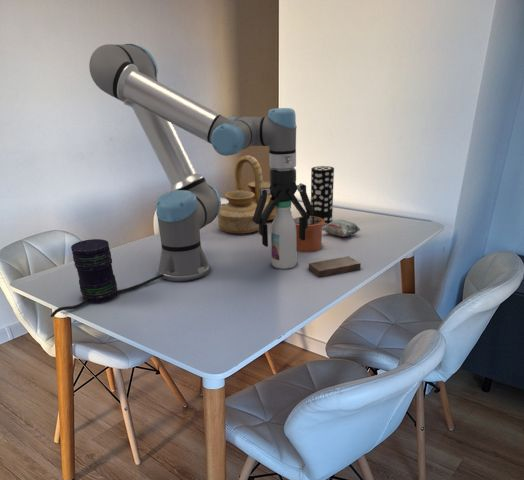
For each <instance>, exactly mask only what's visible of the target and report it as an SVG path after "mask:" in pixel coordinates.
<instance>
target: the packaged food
mask: <svg viewBox="0 0 524 480" xmlns="http://www.w3.org/2000/svg"><path fill="white" fill-rule="evenodd" d="M322 231H324V232H325V233H326V234H330V235H333V236H337V237H341V238H342V237H343V238H344V237H349V236H352V235H355V234H357V233H358V232H360V231H361V228H360V227H359V226H358V225H357V224H356V223H355V222H351V221H347V220H344V219H335V220H332V222H331V223H329V224H327V225H324V227H323V228H322Z"/></svg>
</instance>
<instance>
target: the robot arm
mask: <svg viewBox="0 0 524 480" xmlns="http://www.w3.org/2000/svg"><path fill="white" fill-rule="evenodd" d="M88 67H89V74H90V77H91V79H92V81H93V83H94V84H95V85H96V86H97V88H98V89H100V90H101V91H102V92H104V93H106V94H107V95H109V96H111V97H113V98H114V99H117V100H119V102H123V105H125V106H128V107H130V108H131V109H132V110H133V112H134V114H135V116H136V118H137V120H138V123H139V124H140V126H141V128H142V129H143V132H144V134H145V136H146V138H147V140H148V142H149V144H150V146H151V148H152V150H153V151H154V154H155V156H156V158H157V160H158V162H159V163H160V165H161V167H162V169H163V172H164V173H165V176H166V178H167V179H168V181H169V183H170V185H171V187H170V190H169V192H166V193H163V194H162V195H160V196H159V197H158V198H157V200H156V204H155V207H156V218H157V224H158V231H159V237H160V243H161V244H160V245H161V253H160V254H161V256H160V258H159V264H158V275H156V276H153V277H152V278H149V279H147V280H145V281H143V282H140V283H138V284H134V285H131V286H130V287H126V288H121V289H117V292H118V294H122V293H125V292H129V291H132V290H135V289H137V288H141V287H143V286H146V285H148V284H150V283H152V282H154V281H156V280H158V279H163V280H166V281H169V282H190V281H194V280H198V279H201V278H203V277H205V276H206V275H208V274H209V272H210V265H209V262H208V259H207V257H206V255H205V253H204V250H203V247H202V243H201V231H200V230H202V229H203V228H204V227H206V226H207V225H209V224H211V223H212V222H213V221H215V219H216V218H218V214H219V212H220V209H221V204H222V200H221V195H220V194H219V192H218V191H217V189H216V188H215V187H214V186H212V185H210V184H208V182H207V180H206V178H205V176H204V175H202V174H201V173H200V174H199V173H198V172H197V171H196V169H195V166H194V164H193V163H192V161H191V159H190V157H189V155H188V153H187V151H186V148H185V146H184V144H183V142H182V140H181V138H180V136H179V134H178V132H177V130H176V128H175V126H176V127H178V128H180V129H182V130H184V131H185V132H188V133H189V134H191V135H193V136H195V137H197V138H198V139H200V140H203V141H205V142H206V143H208V144H210V145H211V146H212V147H213V149H214V150H215V152H216V153H217V154H218V155H220V156H225V157H228V156H233V155H236V154H238V153H240V152H241V151H243V150H245V149H248V148H249V147H268V151H269V152H268V153H269V155H268V156H269V157H268V158H269V168H270V170H269V182H270V188H269V189H263V188H261V189H260V198H259V201H258V204H257V207H256V210H255V213H254V216H253V219H252V221H253V222H254V223H256V224H259V230H258V233H259V235H260V236H261V244H262V245H263V246H264V247H265V248H268V247H269V236H268V235H269V232H268V231H269V230H268V224H267V221H268V220H267V219H268V218H269V216H270V214H271V213H272V211H273V209H274V207H275V206H276V205H277V204H278V202H283V201H290V200H291V204H292V205H293V206H294V207H295V208H296V211H298V213H299V215H301V216H298V217H299V238H300V239H301V240H303V241H304V240H305V229H307V228H308V219H309V218H310V216H313V215H314V212H313V209H312V206H311V200H310V199H309V195H308V193H307V184H304V183H299V184H297V169H296V167H297V127H298V126H297V120H296V119H297V117H296V111H295V110H294V109H293V108H290V107H279V108H277V107H276V108H270V109H269V110H268V113H267V116H242V115H240V116H232V117H230V118H228V117H225V116H223V115H221V114H220V113H219V112H216V111H215V110H212V109H211V108H209V107H207V106H205V105H203V104H201V103H199V102H197V101H195V100H194V99H191V98H190V97H188V96H186V95H184V94H182V93H181V92H179V91H177V90H175V89H173V88H171V87H169V86H167V85H165V84H163V83H162V82H160V81H158V73H159V72H158V64H157V62H156V60H155V58H154V56H153V55H152V53H151V52H150V51H149V50H147V48H145V47H143V46H140V45H137V44H135V43H124V44H113V43H110V44H109V43H108V44H103V45H100V46H98V47H96V49H94V50H93V52H92V53H91V55H90V59H89V63H88ZM296 192H298V193H299V196H300V198H301V201H302V203H303V205H302V204H301V203H300V201H299V200H298V198H297V196H296V195H295V194H296ZM269 193H270V194H271V195H272V196H271V198H270V200H269V203H268V205H267V206H266V208H265V210H264V212H263V209H264V206H265V203H266V199H267V197H268V195H269ZM303 206H304V207H303ZM262 212H263V213H262ZM87 302H88V299H86V300H85V301H84V300H83V301H81V302H80V303H78V304H74V305H68V306H61V307H58V308H56V309H55V310H53V311H52V313H51V315H50V318H53V317H55V316H56V315H57V314H58V313H59V312H61V311H69V310H75V309H78V308H81V307H83V306H84V305H87V304H88V303H87Z"/></svg>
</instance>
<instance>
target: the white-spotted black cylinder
mask: <svg viewBox="0 0 524 480" xmlns="http://www.w3.org/2000/svg"><path fill="white" fill-rule="evenodd" d="M310 172H311V173H310V174H311V175H310V177H311V178H310V181H311V182H310V204H311V206H312V209H313V212H314V215H313V216H314V217H320V218H322V219H324V221H325V222H324V226H326V225H327V224H329V223H331V222H332V221H333V209H334V208H333V207H334V183H335V181H334V178H335V167H333V166H328V165H320V166H319V165H318V166H313V167H311V171H310Z"/></svg>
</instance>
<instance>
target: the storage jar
mask: <svg viewBox="0 0 524 480" xmlns="http://www.w3.org/2000/svg"><path fill="white" fill-rule="evenodd" d="M109 243H110V242H109V241H108V240H106V239H103V238H102V239H101V238H93V239H84V240H80V241H78V242H74V243H73V244H72V245H71V246H70V249H71V254H72V260H73V263H74V267H75V268H76V271H77V276H78V284H79V290H80V293H81V295H82V300H83V301H85V300H86V299H88V302H87V303H86V304H92V305H93V304H94V305H95V304H103V303H108V302H111V301H113V300H115V299H117V297H119V293H118V292H117V290H118V284H117V280H116V275H115V274H114V270H113V259H112V252H111V248H110V247H109V246H110V244H109Z"/></svg>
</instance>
